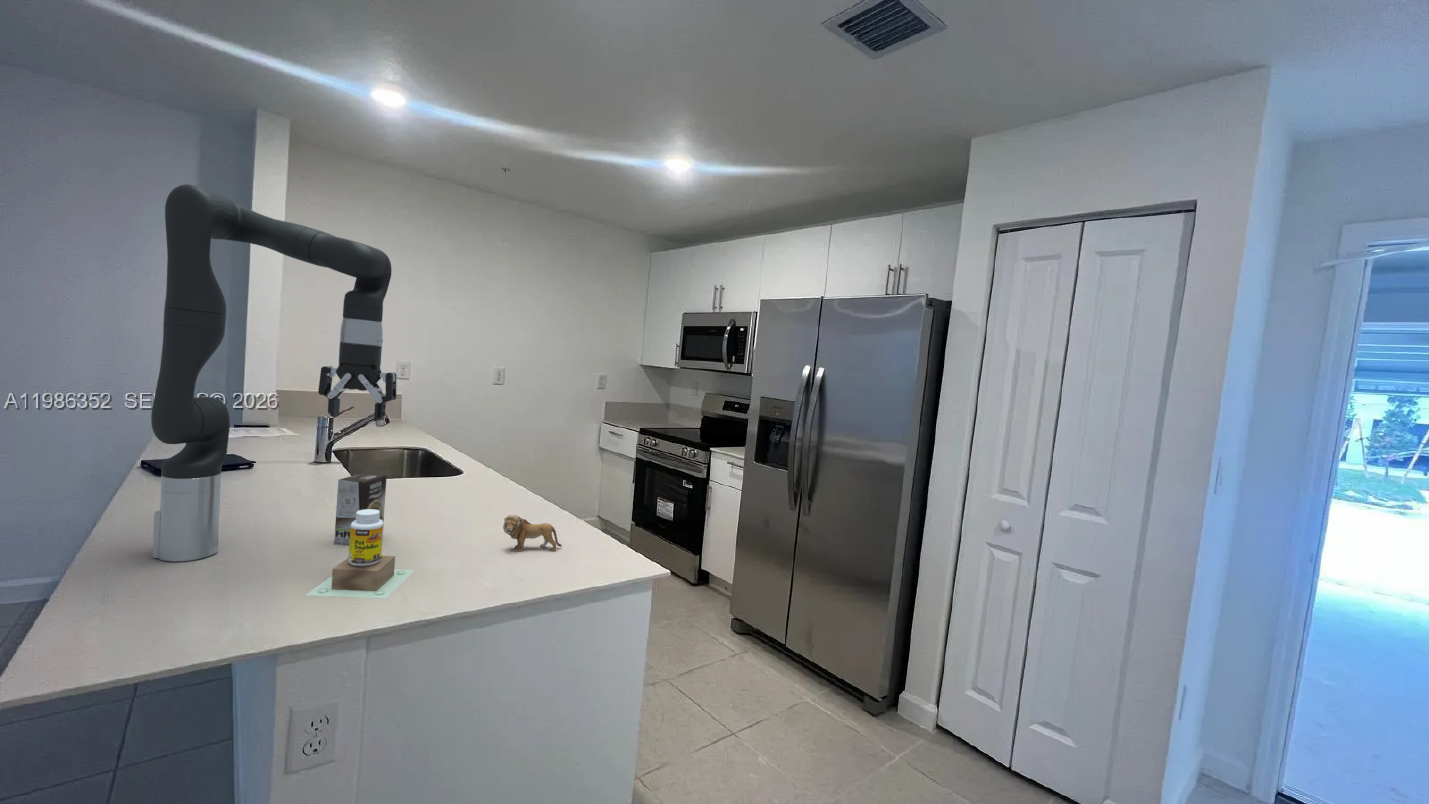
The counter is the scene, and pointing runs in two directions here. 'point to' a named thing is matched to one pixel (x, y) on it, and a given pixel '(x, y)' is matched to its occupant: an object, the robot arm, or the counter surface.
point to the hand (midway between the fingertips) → (356, 418)
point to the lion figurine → (529, 531)
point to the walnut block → (363, 575)
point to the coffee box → (357, 501)
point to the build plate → (382, 592)
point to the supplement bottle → (366, 538)
